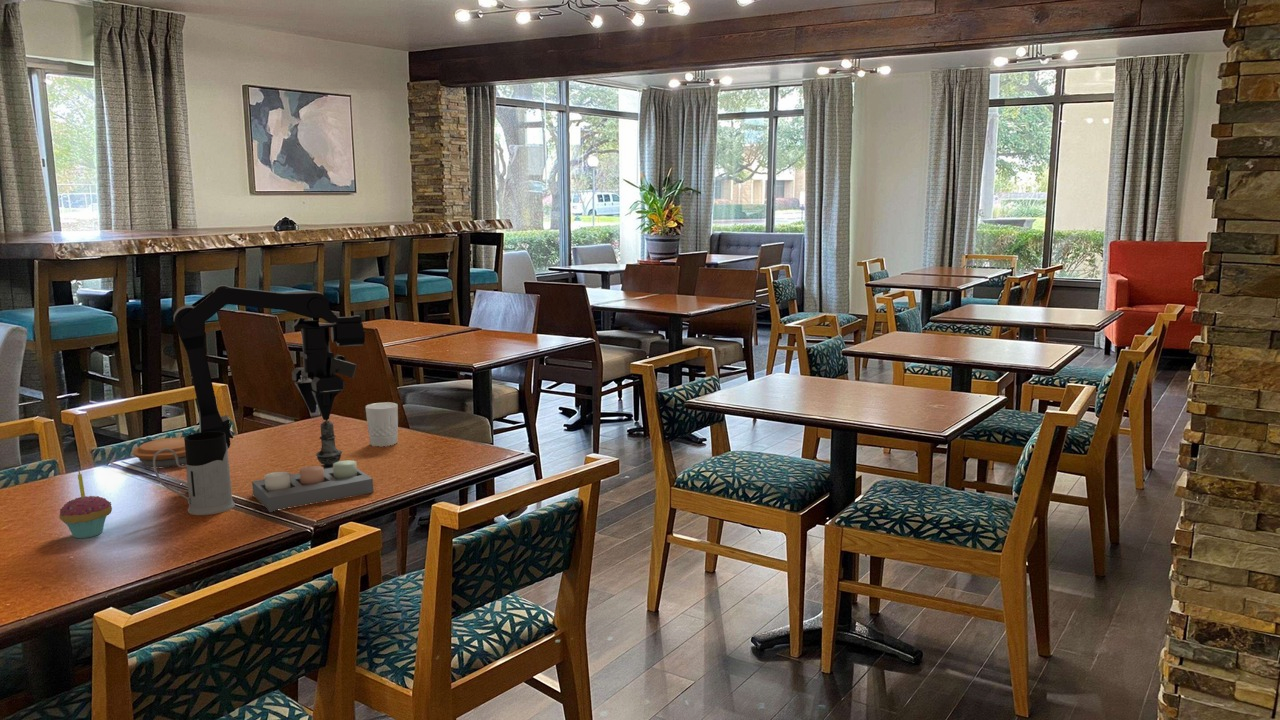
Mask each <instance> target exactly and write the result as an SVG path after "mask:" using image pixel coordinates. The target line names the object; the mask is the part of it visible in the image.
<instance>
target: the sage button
mask: <svg viewBox="0 0 1280 720" xmlns="http://www.w3.org/2000/svg"><path fill="white" fill-rule="evenodd" d="M357 465H358V464H357V461H356V460H339V461H338V462H336V463H334V464H333V472H334V478H335V479H336V480H337V479H342V478H348V477H354V476H357V469H358V467H357Z"/></svg>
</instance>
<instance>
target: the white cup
mask: <svg viewBox="0 0 1280 720" xmlns="http://www.w3.org/2000/svg"><path fill="white" fill-rule="evenodd" d="M398 407H399V406H398V403H397V402H396V403H395V402H389V401H387V402H376V403H369V404H367V405H365V413H366V414H365V415H366V423H367V432H368V435H369V444H370V446H371V445H372V447H375V446H379V447H378V448H380V447H381V448H383V446H385V447H391V446H395V445H396V443H397V444H398V442H399V441H398V432H399V428H398V426H399V413H398V412H399V410H398V409H399V408H398ZM394 444H395V445H394ZM390 445H391V446H390Z"/></svg>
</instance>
